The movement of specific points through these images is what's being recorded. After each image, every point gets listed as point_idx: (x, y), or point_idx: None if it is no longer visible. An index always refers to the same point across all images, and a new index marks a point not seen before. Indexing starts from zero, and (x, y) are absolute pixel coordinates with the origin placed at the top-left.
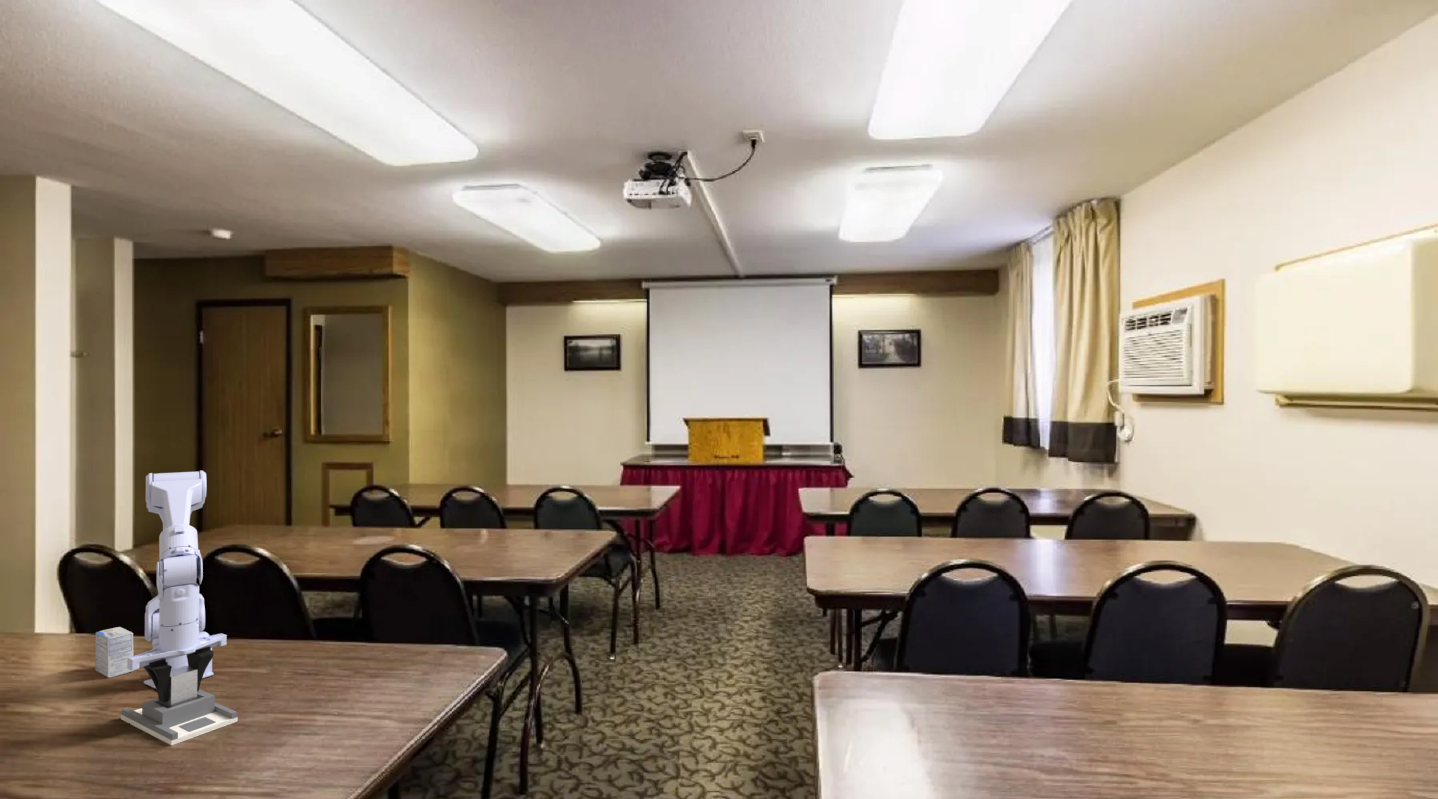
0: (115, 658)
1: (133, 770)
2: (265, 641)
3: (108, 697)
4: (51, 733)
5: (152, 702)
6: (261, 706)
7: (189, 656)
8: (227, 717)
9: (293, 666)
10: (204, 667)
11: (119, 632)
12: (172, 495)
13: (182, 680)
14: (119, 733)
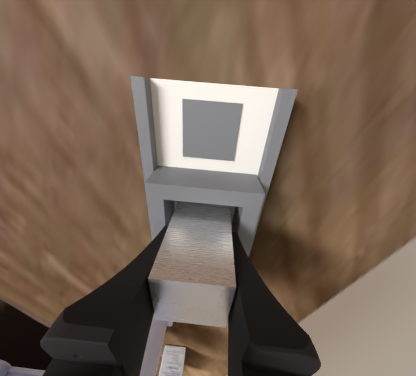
0: (176, 373)
1: None
2: (41, 320)
3: None
4: (295, 295)
5: None
6: (77, 117)
7: (138, 357)
8: (153, 103)
9: (7, 240)
10: (123, 276)
11: None
12: None
13: (201, 260)
14: (272, 236)
